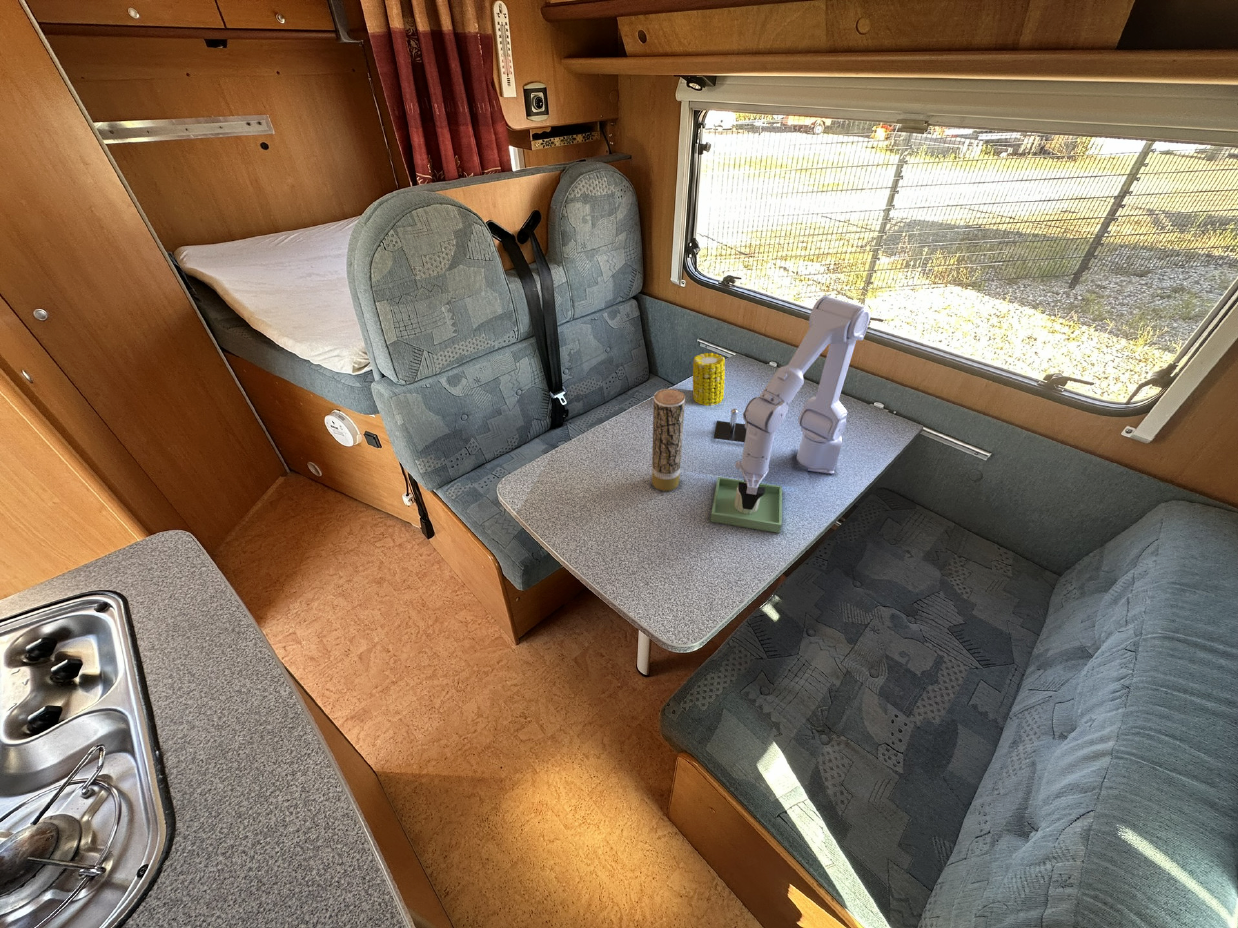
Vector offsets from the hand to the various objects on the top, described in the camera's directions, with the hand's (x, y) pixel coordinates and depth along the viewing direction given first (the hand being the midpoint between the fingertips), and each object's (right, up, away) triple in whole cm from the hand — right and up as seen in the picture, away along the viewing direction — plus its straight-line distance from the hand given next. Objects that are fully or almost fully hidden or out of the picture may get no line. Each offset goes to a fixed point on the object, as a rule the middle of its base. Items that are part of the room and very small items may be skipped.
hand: (748, 496), depth 113 cm
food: (-3, +27, +40) cm, 48 cm away
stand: (+2, +16, +25) cm, 30 cm away
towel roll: (0, -2, +2) cm, 3 cm away
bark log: (-18, +3, +9) cm, 21 cm away
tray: (0, -3, +2) cm, 3 cm away
